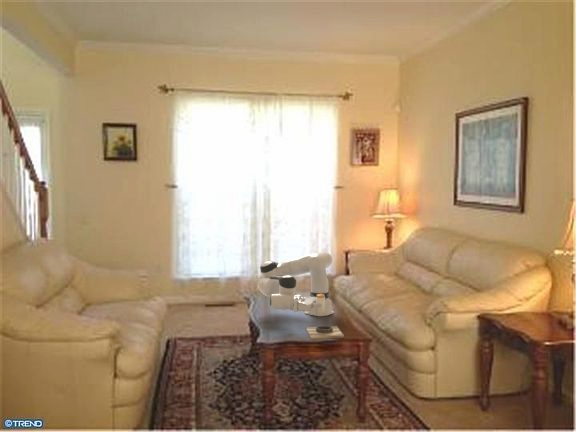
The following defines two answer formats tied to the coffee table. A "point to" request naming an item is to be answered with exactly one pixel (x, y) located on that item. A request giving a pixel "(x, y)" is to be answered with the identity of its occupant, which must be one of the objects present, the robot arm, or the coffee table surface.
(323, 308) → the bottle
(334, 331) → the board
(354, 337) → the coffee table surface
